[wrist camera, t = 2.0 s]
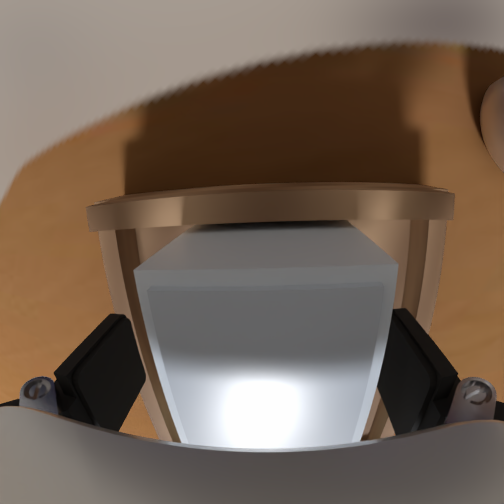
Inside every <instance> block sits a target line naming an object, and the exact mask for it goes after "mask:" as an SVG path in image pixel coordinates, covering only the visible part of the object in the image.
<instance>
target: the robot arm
mask: <svg viewBox="0 0 504 504" xmlns="http://www.w3.org/2000/svg"><path fill="white" fill-rule="evenodd" d="M54 375H55V377H56V379H57V380H56V381H55V382H54V381H53V380H52V379H51V378H49V377H44V376H40V377H35V378H33V379H30V380H29V381H27V382H26V383H25V384H24V385H23V386H22V388H21V390H20V399H17V400H13V401H9V402H6V403H2V404H0V504H504V403H502V402H499V401H496V390H495V388H494V387H493V386H492V384H491V383H489V382H488V381H486V380H484V379H482V378H478V377H468V378H465V379H463V380H462V381H460V379H459V378H458V376H457V375H458V373H457V371H456V370H455V369H454V367H453V366H452V365H451V363H450V362H449V361H448V359H447V358H446V357H445V355H444V354H443V353H442V352H441V350H440V349H439V348H438V346H437V345H436V344H435V343H434V341H433V340H432V339H431V338H430V336H429V335H428V334H427V333H426V331H425V330H424V329H423V328H422V327H421V325H420V324H419V323H418V322H417V320H416V319H415V318H414V317H413V316H412V314H411V313H410V312H409V311H408V310H407V309H406V308H398V309H393V311H392V317H391V323H390V328H389V334H388V339H387V344H386V349H385V353H384V358H383V362H382V367H381V371H380V375H379V379H378V383H377V388H378V391H379V393H380V396H381V398H382V401H383V403H384V406H385V408H386V411H387V413H388V416H389V419H390V421H391V424H392V427H393V429H394V432H395V435H396V436H391V437H385V438H379V439H373V440H367V441H361V442H354V443H346V444H338V445H328V446H317V447H302V448H270V449H260V448H229V447H214V446H203V445H193V444H185V443H177V442H170V441H164V440H157V439H152V438H146V437H141V436H136V435H131V434H126V433H122V432H119V430H120V428H121V426H122V424H123V422H124V420H125V418H126V416H127V415H128V413H129V411H130V409H131V407H132V405H133V403H134V402H135V400H136V398H137V396H138V394H139V392H140V391H141V389H142V387H143V385H144V383H145V381H146V373H145V370H144V366H143V363H142V360H141V357H140V353H139V350H138V346H137V343H136V339H135V335H134V332H133V328H132V324H131V321H130V319H129V318H127V317H126V315H124V314H109V315H108V316H107V317H106V318H105V319H104V320H103V321H102V322H101V323H100V324H99V325H98V326H97V327H96V329H95V330H94V331H93V332H92V333H91V334H90V335H89V336H88V337H87V338H86V339H85V340H84V341H83V342H82V343H81V344H80V345H79V346H78V347H77V348H76V349H75V350H74V351H73V352H72V353H71V354H70V356H69V357H68V358H67V359H66V360H65V361H64V362H63V363H62V364H61V365H60V366H59V367H58V368H57V370H56V371H55V372H54Z"/></svg>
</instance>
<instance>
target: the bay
mask: <svg viewBox="0 0 504 504" xmlns="http://www.w3.org/2000/svg"><path fill="white" fill-rule="evenodd" d="M454 197H455V194H454V193H449V192H448V190H447V189H442V188H437V187H431V186H426V185H420V184H402V183H371V182H297V183H266V184H244V185H227V186H212V187H199V188H187V189H176V190H166V191H156V192H147V193H138V194H130V195H123V196H119V197H115V198H111V199H107V200H103V201H99V202H95V203H94V204H95V205H92V206H88V207H86V211H87V219H88V226H89V232H94V231H98V233H99V239H100V245H101V251H102V257H103V262H104V267H105V272H106V277H107V281H108V286H109V290H110V295H111V299H112V303H113V307H114V311H115V314H124V315H126V317H127V318H129V319H130V321H131V324H132V328H133V332H134V335H135V339H136V343H137V346H138V350H139V353H140V357H141V360H142V363H143V366H144V370H145V373H146V381H145V383H144V385H143V387H142V389H141V391H140V393H141V396H142V399H143V401H144V404H145V406H146V409H147V411H148V414H149V416H150V419H151V421H152V423H153V426H154V428H155V430H156V433H157V435H158V437H159V439H160V440H164V441H170V442H177V443H181V440H180V438H179V435H178V432H177V430H176V427H175V424H174V421H173V419H172V416H171V413H170V410H169V407H168V404H167V401H166V398H165V395H164V392H163V389H162V385H161V382H160V379H159V376H158V372H157V369H156V365H155V362H154V358H153V355H152V351H151V347H150V343H149V339H148V336H147V332H146V327H145V323H144V319H143V315H142V310H141V306H140V301H139V296H138V292H137V287H136V281H135V276H134V271H133V270H134V269H136V268H137V267H138V266H139V265H141V264H142V263H143V262H145V261H146V260H147V259H149V258H150V257H151V256H153V255H154V254H155V253H157V252H158V251H159V250H161V249H162V248H163V247H165V246H166V245H167V244H169V243H170V242H171V241H173V240H174V239H175V238H177V237H178V236H180V235H181V234H182V233H184V232H185V231H186V230H188V229H189V228H191V227H192V226H193V225H202V224H223V223H247V222H275V221H313V220H347V221H349V222H350V223H351V224H352V225H354V226H355V227H356V228H357V229H358V230H360V231H361V232H362V233H363V234H364V235H366V236H367V237H368V238H369V239H370V240H372V241H373V242H374V243H375V244H376V245H378V246H379V247H380V248H381V249H382V250H383V251H385V252H386V253H387V254H388V255H389V256H390V257H391V258H393V259H394V260H395V261H396V262H397V263H398V274H397V282H396V290H395V297H394V304H393V309H398V308H406V309H407V310H408V311H409V312H410V313H411V314H412V316H413V317H414V318H415V319H416V320H417V322H418V323H419V324H420V325H421V327H422V328H423V329H424V330H425V331H426V333H427V334H429V330H430V326H431V322H432V317H433V313H434V308H435V303H436V298H437V293H438V287H439V281H440V275H441V269H442V261H443V254H444V245H445V235H446V223H447V220H453V216H454ZM394 433H395V432H394V429H393V427H392V424H391V421H390V419H389V416H388V413H387V411H386V408H385V406H384V403H383V401H382V398H381V396H380V393H379V391H378V388H377V387H376V391H375V394H374V398H373V402H372V405H371V409H370V412H369V415H368V418H367V422H366V425H365V428H364V431H363V434H362V437H361V440H360V442H361V441H367V440H373V439H379V438H385V437H391V436H394Z"/></svg>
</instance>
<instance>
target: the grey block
mask: <svg viewBox="0 0 504 504" xmlns="http://www.w3.org/2000/svg"><path fill="white" fill-rule="evenodd" d="M133 271H134V276H135V281H136V287H137V292H138V296H139V301H140V306H141V310H142V315H143V319H144V323H145V327H146V332H147V336H148V339H149V343H150V347H151V351H152V355H153V358H154V362H155V365H156V369H157V372H158V376H159V379H160V382H161V385H162V389H163V392H164V395H165V398H166V401H167V404H168V407H169V410H170V413H171V416H172V419H173V421H174V424H175V427H176V430H177V432H178V435H179V438H180V440H181V443H185V444H193V445H203V446H214V447H229V448H260V449H270V448H302V447H317V446H328V445H338V444H346V443H354V442H360V440H361V437H362V434H363V431H364V428H365V425H366V422H367V418H368V415H369V412H370V409H371V405H372V402H373V398H374V394H375V391H376V387H377V383H378V379H379V375H380V371H381V367H382V362H383V358H384V353H385V349H386V344H387V339H388V334H389V328H390V323H391V317H392V311H393V304H394V297H395V290H396V282H397V274H398V263H397V262H396V261H395V260H394V259H393V258H391V257H390V256H389V255H388V254H387V253H386V252H385V251H383V250H382V249H381V248H380V247H379V246H378V245H376V244H375V243H374V242H373V241H372V240H370V239H369V238H368V237H367V236H366V235H364V234H363V233H362V232H361V231H360V230H358V229H357V228H356V227H355V226H354V225H352V224H351V223H350V222H349V221H347V220H313V221H275V222H247V223H223V224H202V225H193V226H192V227H191V228H189V229H188V230H186V231H185V232H184V233H182V234H181V235H180V236H178V237H177V238H175V239H174V240H173V241H171V242H170V243H169V244H167V245H166V246H165V247H163V248H162V249H161V250H159V251H158V252H157V253H155V254H154V255H153V256H151V257H150V258H149V259H147V260H146V261H145V262H143V263H142V264H141V265H139V266H138V267H137V268H136V269H134V270H133Z"/></svg>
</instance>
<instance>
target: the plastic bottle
mask: <svg viewBox="0 0 504 504" xmlns="http://www.w3.org/2000/svg"><path fill="white" fill-rule="evenodd" d="M480 125H481V132H482V136H483V140H484V143H485V146H486V148H487V150H488V152H489V154H490V156H491V157H492V159H493V160H494V162H495V163H496V165H497V166H498V167H499V168H500V169H501V171H502V172H503V173H504V76H503V77H502V78H500V79H499V80H497V81H496V82H494V83H493V84H491V85H490V86H489V87H488V89H487V91H486V92H485V95H484V98H483V101H482V104H481V110H480Z"/></svg>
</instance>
